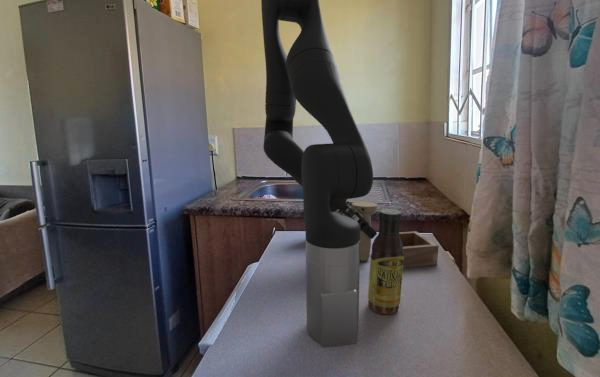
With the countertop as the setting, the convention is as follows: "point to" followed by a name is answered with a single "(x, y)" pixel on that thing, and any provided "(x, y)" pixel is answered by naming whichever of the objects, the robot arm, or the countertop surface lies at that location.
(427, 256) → the open wooden box
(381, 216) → the sauce bottle
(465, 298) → the countertop surface
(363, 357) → the countertop surface
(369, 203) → the handle
